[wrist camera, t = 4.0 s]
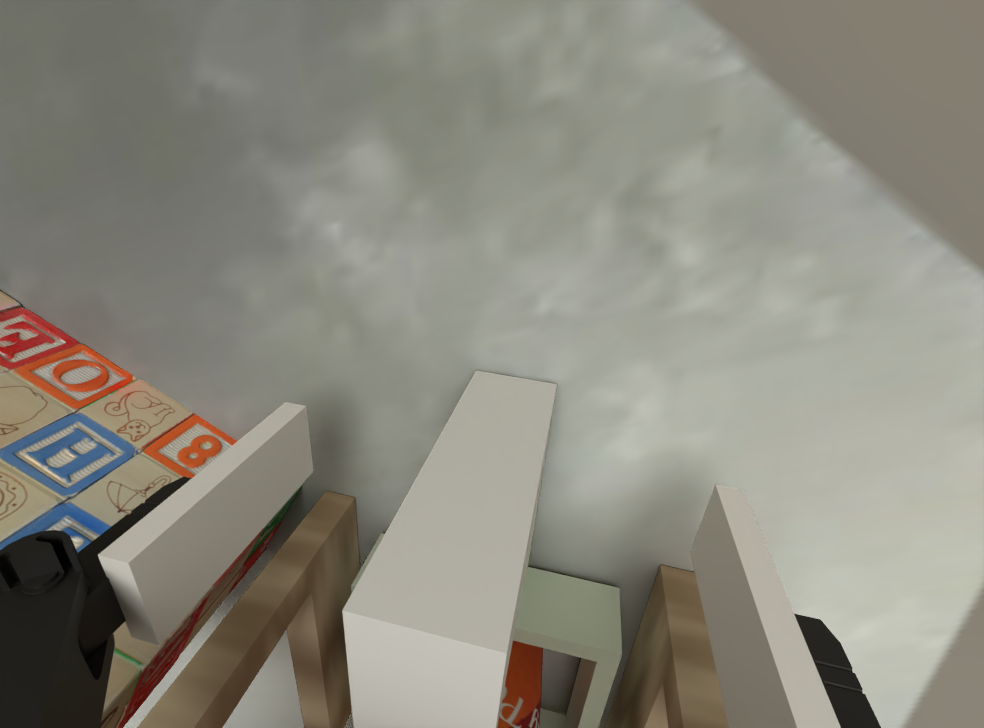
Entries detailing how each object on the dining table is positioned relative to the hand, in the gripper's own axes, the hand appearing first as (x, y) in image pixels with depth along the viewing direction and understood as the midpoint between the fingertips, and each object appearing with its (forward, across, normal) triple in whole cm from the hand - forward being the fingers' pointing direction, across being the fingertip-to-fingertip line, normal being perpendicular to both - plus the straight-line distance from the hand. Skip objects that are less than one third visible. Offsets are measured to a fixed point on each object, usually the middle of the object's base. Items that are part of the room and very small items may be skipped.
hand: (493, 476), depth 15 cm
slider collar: (+3, 0, +8) cm, 9 cm away
